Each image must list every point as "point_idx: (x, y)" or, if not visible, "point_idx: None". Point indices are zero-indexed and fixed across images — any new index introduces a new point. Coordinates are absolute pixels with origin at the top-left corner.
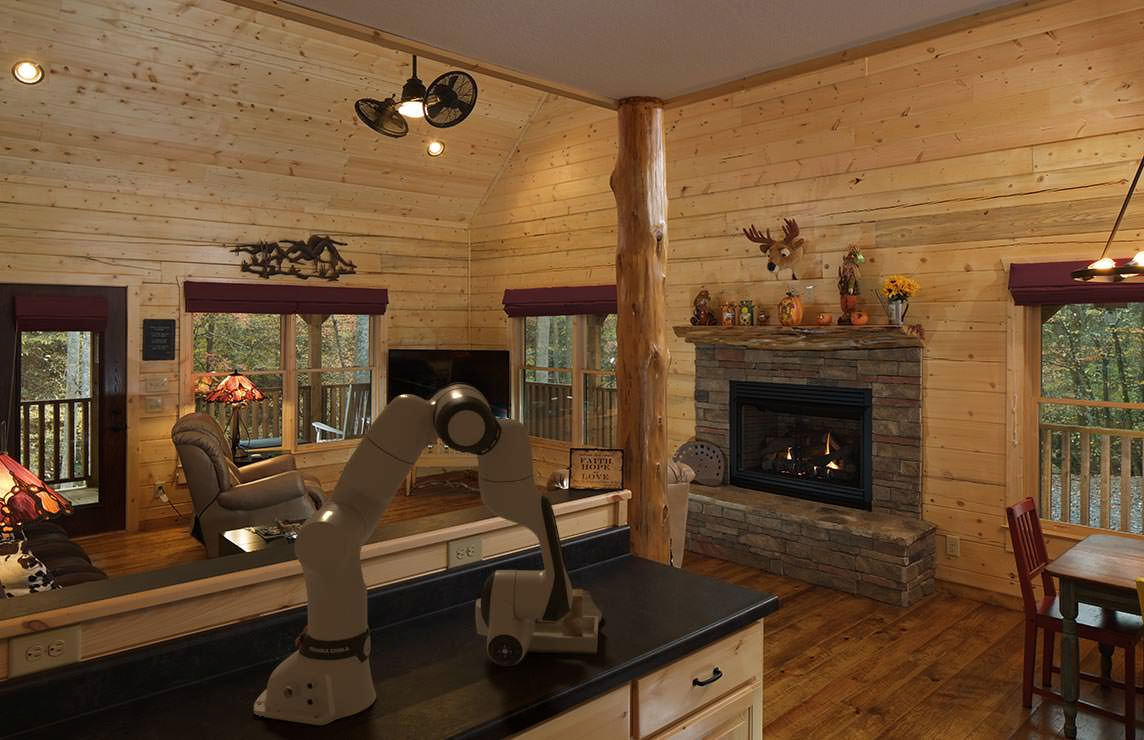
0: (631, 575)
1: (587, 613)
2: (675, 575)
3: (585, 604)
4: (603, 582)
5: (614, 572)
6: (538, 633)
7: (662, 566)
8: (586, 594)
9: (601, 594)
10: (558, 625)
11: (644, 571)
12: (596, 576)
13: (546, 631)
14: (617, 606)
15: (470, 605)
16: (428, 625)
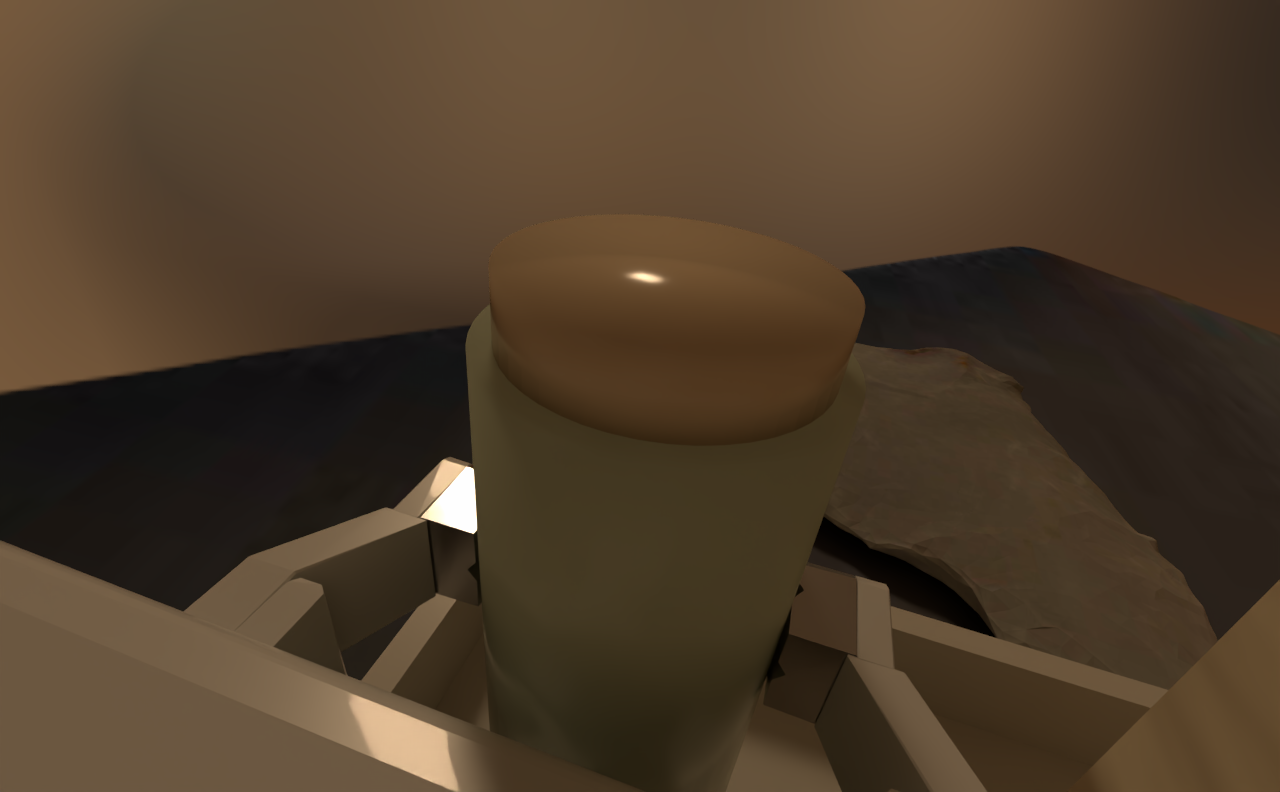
0: (1095, 314)
1: (1124, 596)
2: (1267, 344)
3: (1058, 485)
4: (1009, 325)
5: (1024, 291)
6: (748, 763)
7: (1175, 298)
8: (1007, 392)
9: (1036, 386)
10: (920, 692)
11: (1129, 306)
12: (968, 295)
13: (817, 740)
14: (1175, 491)
15: (462, 337)
16: (119, 435)
